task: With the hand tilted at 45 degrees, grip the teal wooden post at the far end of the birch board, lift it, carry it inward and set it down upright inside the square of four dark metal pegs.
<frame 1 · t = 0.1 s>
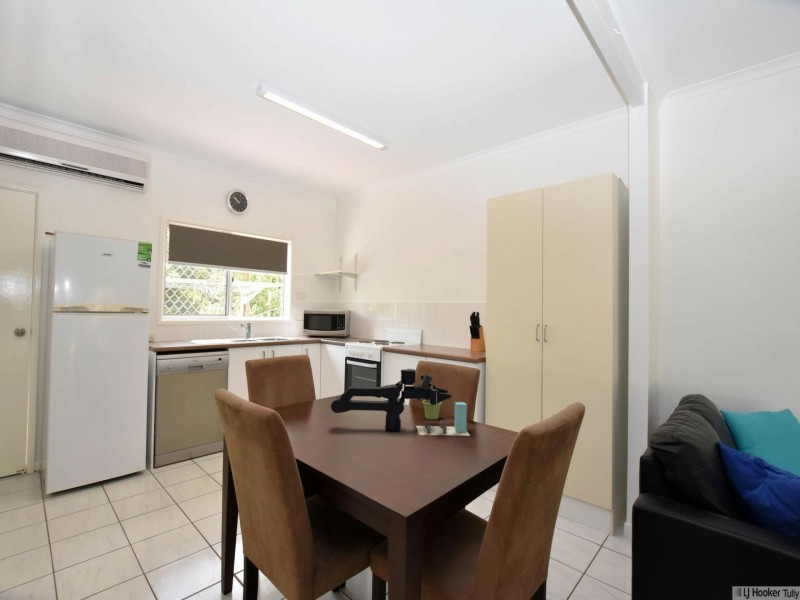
hand: (449, 393, 169), 17 cm above the table, tool horizontal, fingers open, 9 cm apart
peg board: (442, 432, 165), on the table
plant pot: (431, 419, 185), on the table
teal post: (460, 430, 166), point 1 cm above the table, touching peg board
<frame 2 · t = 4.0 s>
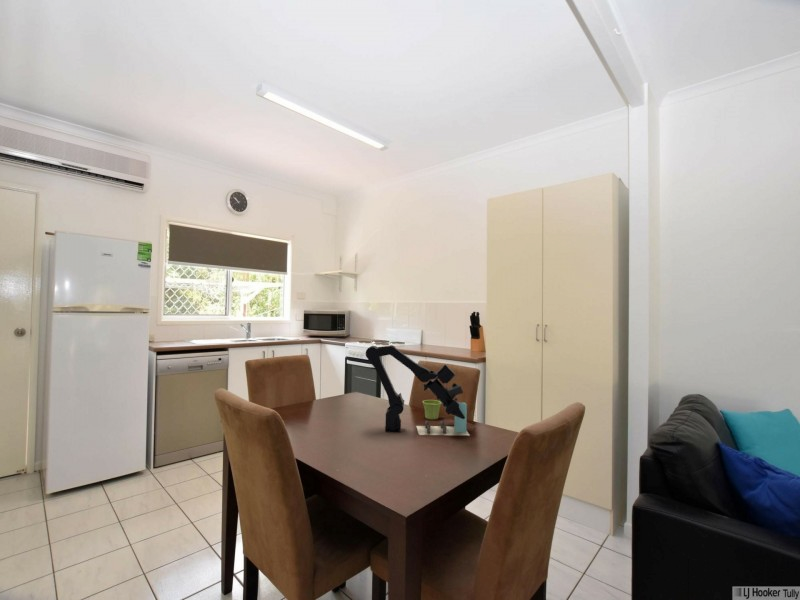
hand: (463, 416, 166), 7 cm above the table, tool tilted 45°, fingers closed on teal post, 5 cm apart
teal post: (460, 430, 166), point 1 cm above the table, touching gripper, peg board
everything else where it was.
when the fingers open (9 cm above the table, at t = 8.0 s): teal post drops 1 cm, resting on peg board.
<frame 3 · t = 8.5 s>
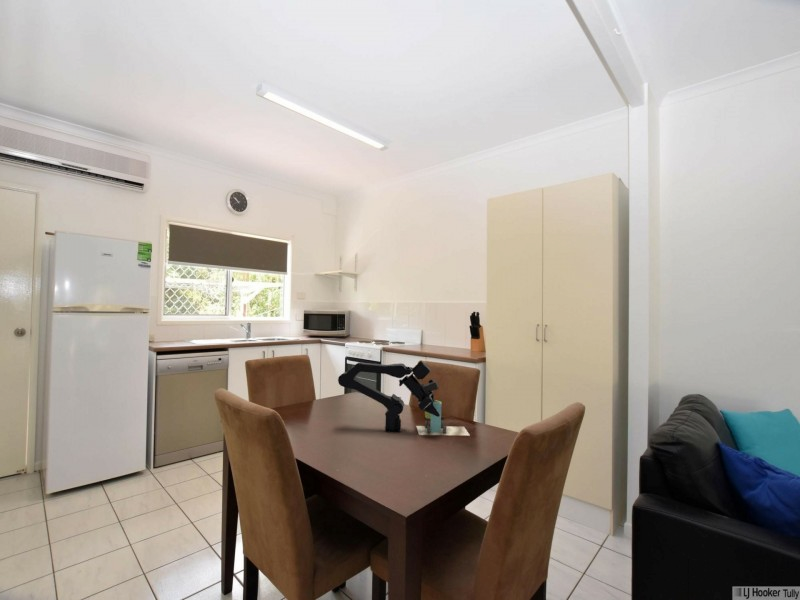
hand: (439, 413, 165), 9 cm above the table, tool tilted 45°, fingers open, 9 cm apart
teal post: (435, 430, 165), point 1 cm above the table, touching peg board
everything else where it was.
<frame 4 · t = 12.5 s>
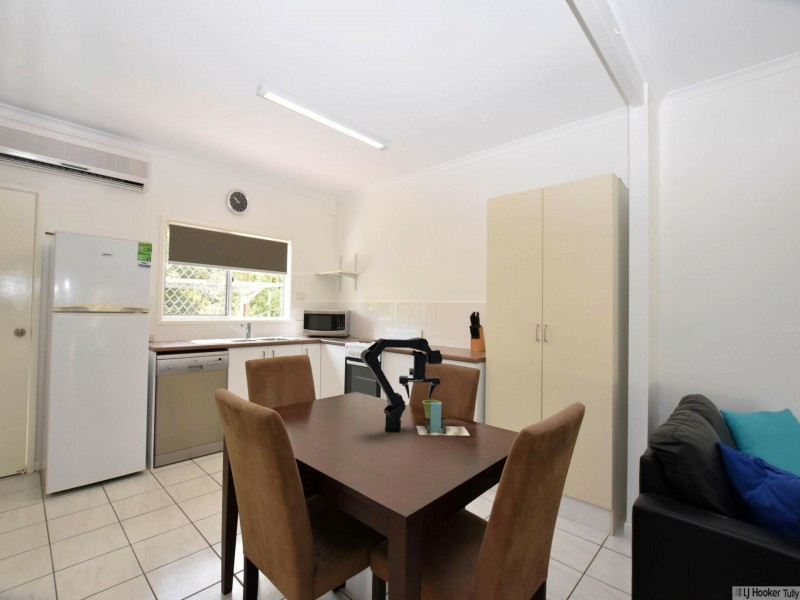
hand: (418, 399, 172), 13 cm above the table, tool pointing down, fingers open, 9 cm apart
nothing on the table moved.
at the end: teal post 0.0 cm from the target spot on the peg board, point 1.0 cm above the peg board's base; teal post tilted 0°; the gripper is holding nothing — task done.
